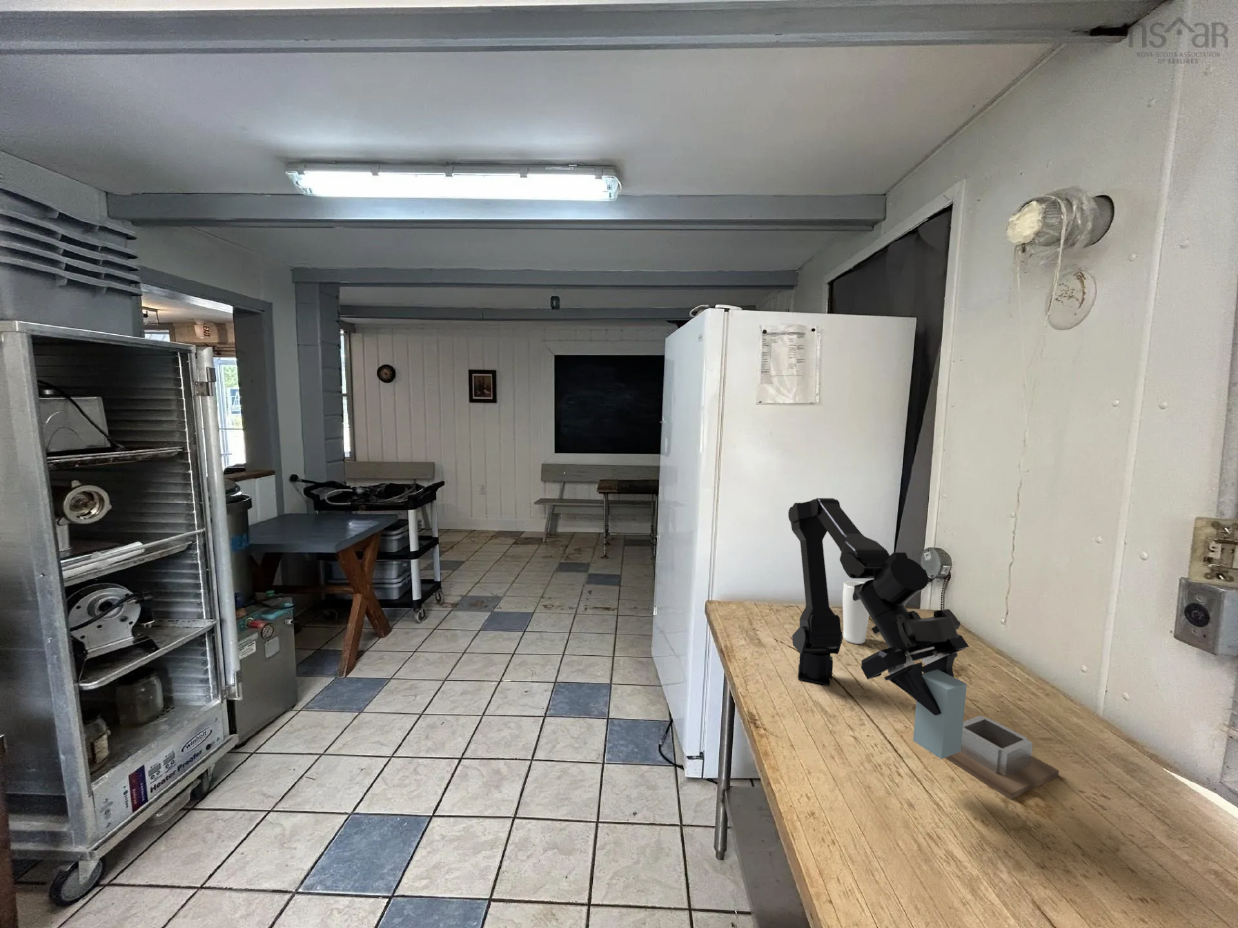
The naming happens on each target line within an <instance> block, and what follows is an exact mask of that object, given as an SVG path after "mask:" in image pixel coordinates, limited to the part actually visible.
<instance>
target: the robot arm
mask: <svg viewBox="0 0 1238 928" xmlns="http://www.w3.org/2000/svg"><path fill="white" fill-rule="evenodd" d="M787 512H788V513H787V514H788V520H789V522H790V528H791V531H792V532H793V534H794V535H795V537H797V540H798V541H799V544H800V553H801V564H802V565H801V567H802V578H803V588H804V589H803V590H804V598H805V599H804V600H805V607H804V609H803V611H802V613H801V615H800V616H799V627H798V628H797V629H796V630H795V632H794V633H793V634H792V637H791V639H792V646H793V647H794V648H795V649H796V651H797V652H799V662H798V663H799V664H798V670H797V679H798V680H800V681H804V682H809V683H810V682H811V683H813V684H814V683H815V684H820V685H825V686H830V684H831V682H830V680H832V679H833V667H834V660H833V659H834V658H833V656H831V654H836V655H838V654H839V653H840V649H841V646H842V643H843V639H844V637H843V631H842V627H841V626H842V625H841V618H840V616H839V614H835V613H834V611H833V610H832V608H831V607H830V600H829V589H828V581H827V572H826V570H827V569H826V561H825V550H824V542H823V541H824V538H825V537H826V535H827V533H828V534H829V536H830V537H831V538H832V540H833V541H834V543H835V545H837V547H838V548H839V550H840V557H839V562H840V564H841V566H842V568H843V570H844V572H845V574H846V575H847V576H848V577H849V578H851V579H859V580H860V579H862V580H863V579H865V580H866V579H868V580H866V581H865V582H864V583H862V584H858V585H855V586H854V593H853V600H854V601H857V600H861V602H862V603H863V605H864V607H865V608H866V610H867V612H868V613H869V618H870V619H871V620H872V622H873V624H874V625H875V626H873V627H872V628H871V630H872V631H873V634H874V635H877V634H880V635H881V637H882V639H883V640H884V642H885V644H886V645H887V647H888V648H884V649H879V650H878V651H876V652H874V653H872V654H870V655H868V656H867V657H865V658H863V659H861V665H860V668H861V670H862V672H863V674H864V676H865V678H866V679H867V680H871V679H874V678H878V677H881V676H882V673H884V672H886V671H887V672H888V674H889V675H886V676H884V677H883V679H884V680H885V681H889V682H891V683H893V684H894V685H895V686H897V687H898V688H899V689H901V690H902V691H903V692H904V693H907V695H909V696H910V697H912V699H914V700H915V701H918V702H919V703H920V704H921V705H923V706H924V707H925V708H926V709H927V710H929V711H930V712H931V713H932V714H934V715H935V716H936V715H939V714H941V711H940V708H939V706H938V704H937V702H936V700H935V698H934V696H933V695H932V693H931V691H930V689H929V687H928V686H927V684H926V682H925V680H924V678H923V676H922V674H923V673H927V672H930V671H934V670H937V669H938V670H940V671H942V672H944V673H946V674H948V675H950V676H952V677H954V678H955V676H954V675H955V673H954V670H953V667H954V663H955V659H956V658H957V657H958V653H959V652H961V651H963V650H966V649H967V648H970V646H969V644H968V642H967V641H966V640H965V639H964V637H963V635H961V634H959V633H958V632H957V630H958V629H959V628H960V626H961V622H960V620H958V618H957V617H956V615H954V614H955V613H953V612H952V611H951V609H950V608H944V609H938V610H935V611H933V616H930V617H924V618H923V617H921V616H920V614H919V613H918V612H917V611H915V610H910V611H909V610H908V609H907V607H906V605H905V603H907V602H908V601H909V600H910V599H912V598H914V596H916V595H918V593H920V592H921V591H923V590H924V589H925V588H926V587H927V586H928V583H929V576H928V575H929V574H928V572H927V571H926V569H924V568H923V567H922V565H921V564H919V563H918V562H917V561H915V560H913V559H912V558H910V557H909V558H908V554H907V552H905V551H893V552H892V553H891V554H889V552H888V550H887V549H886V548H885V547H884V546H883V545H881V544H880V543H879V542H878V541H877V540H874V539H871V538H868V537H867V536H865V535H864V534H863V533H862V532H861V531H860V529H858V527H857V526H856V525H855V523H854V522H853V521H852V520H851V519H850V517H849V516H848V515H847V514H846V512H845V511H844V510H843V509H842V507H841V504H840V501H839V500H838V499H835V498H833V497H827V498H826V497H816V498H815V499H811V500H809V501H805V502H794V503H793V504H792V506H791V507H789V508H788V511H787ZM920 660H921V662H920ZM916 661H919V662H917V663H915V662H916Z"/></svg>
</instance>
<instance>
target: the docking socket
mask: <svg viewBox="0 0 1238 928" xmlns="http://www.w3.org/2000/svg"><path fill="white" fill-rule="evenodd" d="M1033 745H1034V744H1033V742H1032V741H1031V740H1029V739H1028V737H1026V736H1024V735H1023V734H1020V733H1018V732H1016V731H1015V730H1012V729H1010V728H1009V727H1007V726H1005V725H1003V724H1001V723H999V722H998V721H995V720H994V719H991V718H990V717H987V718H986V717H985V716H982V715H978V716H975V717H972V718H970V719H967V720H963V730H962V741H961V751H960V752H958V753H956V754H953V755H951V756H948V757H946V758H945V759H946V760H947V761H949V762H951V763H952V764H954V765H955V766H957V767H959V768H961V769H962V770H963V771H965V772H967V773H969V774H970V775H971V776H973V777H975V778H976V779H978V780H979V781H980V782H983V783H984V784H986V785H987V786H989V787H990V788H992V789H994V790H995V791H997V792H998V793H1000V794H1002V795H1003V796H1004V797H1006V798H1008V799H1009V800H1013V799H1015V798H1017V797H1019V796H1021V795H1023V794H1026V793H1027V792H1029V791H1031V790H1033V789H1035V788H1037V787H1039V786H1041V785H1044V784H1045V783H1048V782H1049V781H1051V780H1053V779H1055V778H1057V777H1059V774H1060V773H1059V772H1060V770H1059V769H1057V768H1055V767H1053V766H1052V765H1049V764H1048V763H1046V762H1045V761H1042V760H1040V759H1038V758H1037V757H1036V756H1033V755H1032V754H1033Z"/></svg>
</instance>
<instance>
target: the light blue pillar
mask: <svg viewBox="0 0 1238 928" xmlns="http://www.w3.org/2000/svg"><path fill="white" fill-rule="evenodd" d="M922 676H923V678H924V680H925V682H926V684H927V686H928V687H929V689H930V691H931V693H932V695H933V696H934V698H935V700H936V702H937V704H938V706H939V708H940V711H941V714H939V715H936V716H935V715H934V714H932V713H931V712H930V711H929V710H927V709H926V708H925V707H924V706H923V705H921V704H920V703H919V702H918V701H916V700H915V701H916V702H915V711H914V712H915V714H914V724H913V737H912V741H913V742H914V743H916V745H917V744H918V746H920V747H922V748H923V749H925V750H927V751H928V752H930V753H931V754H932V755H934V756H935V757H937V758H939V759H940V760H943V759H946V757H948V756H951V755H953V754H956V753H958V752H960V751H961V741H962V730H963V722H964V719H965V708H966V697H967V687H968V686H967V685H968V683H966V682H964V681H962V680H960V679H958V678H957V677H955V676H954V677H952V676H950V675H948V674H946V673H944V672H942V671H940V670H938V669H937V670H934V671H930V672H927V673H923V672H922Z"/></svg>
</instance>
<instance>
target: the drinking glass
mask: <svg viewBox="0 0 1238 928" xmlns="http://www.w3.org/2000/svg"><path fill="white" fill-rule="evenodd" d="M862 583H865V582H864V581H863V582H862V581H859V580H846V581H844V582H843V587H842V624H843V625H842V627H843V628H842V629H843V631H842V635H843V639H844V640H845V642H846V641H847V642H849V643H852V644H855V645H857V644H858V645H862V644H864V643H865V642H866V637H867V630H868V623H869V618H870V615H869V613H868V612H867V610H866V608H865V607H864V605H863V603H862V602H861V600H857V601H854V600H853V593H854V586H855V585H858V584H862Z"/></svg>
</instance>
